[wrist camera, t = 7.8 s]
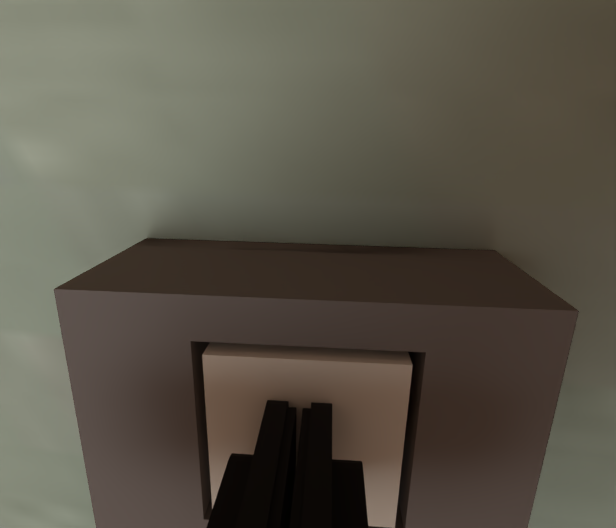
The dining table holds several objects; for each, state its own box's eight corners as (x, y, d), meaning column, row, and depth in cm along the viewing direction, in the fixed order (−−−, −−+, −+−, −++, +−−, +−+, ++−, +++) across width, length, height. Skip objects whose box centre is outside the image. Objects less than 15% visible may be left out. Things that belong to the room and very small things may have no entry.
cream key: (238, 293, 14) (202, 354, 10) (390, 300, 13) (412, 364, 10) (243, 419, 15) (212, 514, 11) (379, 427, 15) (394, 527, 11)
